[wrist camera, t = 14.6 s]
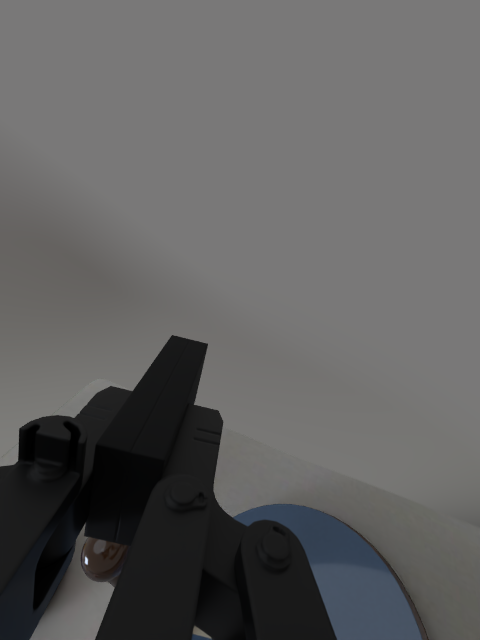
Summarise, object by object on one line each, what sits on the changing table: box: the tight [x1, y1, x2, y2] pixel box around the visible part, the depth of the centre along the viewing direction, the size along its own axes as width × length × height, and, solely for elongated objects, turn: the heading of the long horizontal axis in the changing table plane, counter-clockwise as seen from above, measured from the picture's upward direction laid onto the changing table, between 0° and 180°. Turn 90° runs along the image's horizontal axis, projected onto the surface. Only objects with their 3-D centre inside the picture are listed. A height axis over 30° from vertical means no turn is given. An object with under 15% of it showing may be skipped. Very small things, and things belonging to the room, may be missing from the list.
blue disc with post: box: [81, 504, 422, 640], centre depth 24 cm, size 24×24×17 cm
